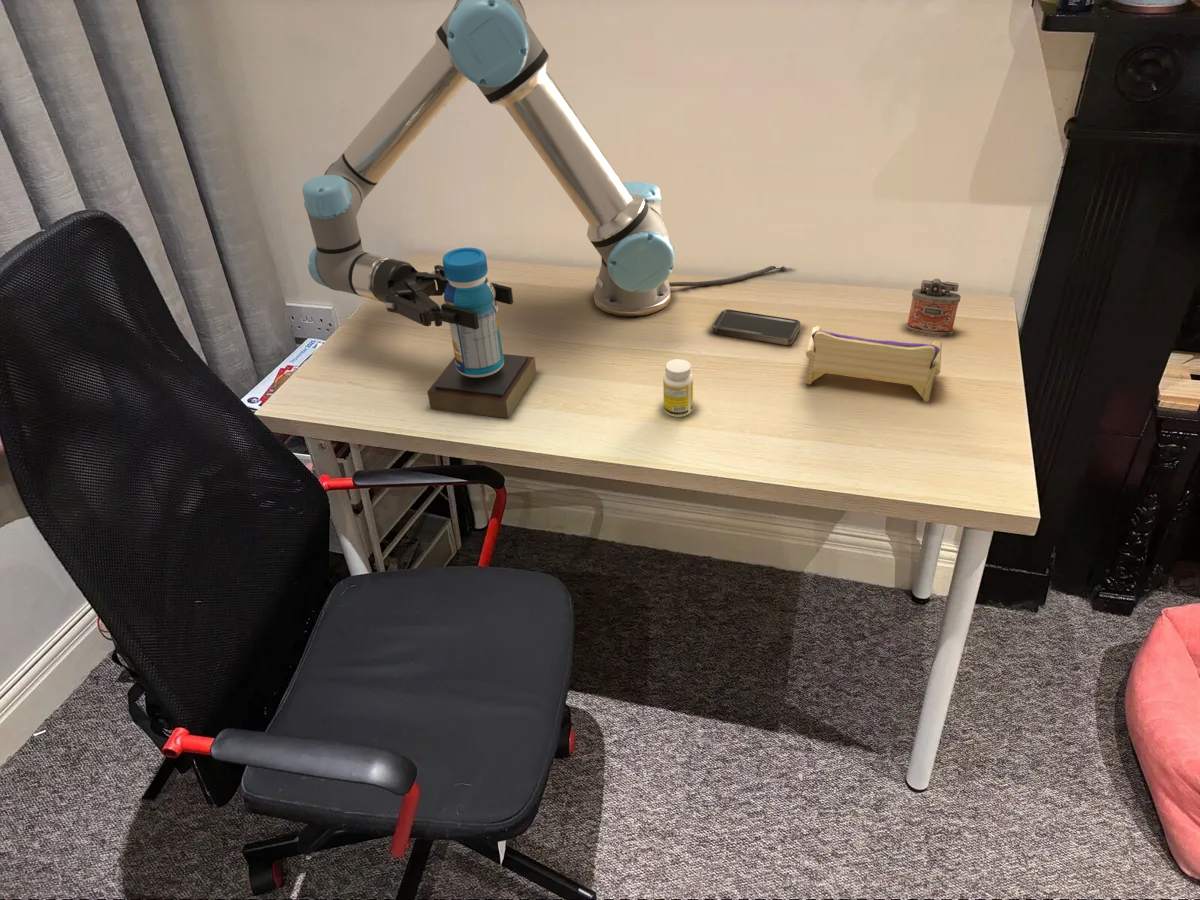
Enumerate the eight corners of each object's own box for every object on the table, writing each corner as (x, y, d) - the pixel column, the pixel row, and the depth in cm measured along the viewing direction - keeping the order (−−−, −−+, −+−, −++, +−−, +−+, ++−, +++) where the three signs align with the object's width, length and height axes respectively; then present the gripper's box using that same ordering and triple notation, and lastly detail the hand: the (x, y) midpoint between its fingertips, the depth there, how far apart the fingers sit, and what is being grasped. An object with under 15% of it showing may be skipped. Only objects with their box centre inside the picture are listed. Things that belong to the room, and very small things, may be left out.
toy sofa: (935, 375, 145) (946, 321, 139) (933, 403, 138) (945, 348, 132) (809, 359, 151) (814, 307, 145) (801, 385, 144) (807, 332, 138)
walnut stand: (536, 374, 152) (534, 354, 149) (508, 418, 141) (505, 398, 139) (463, 365, 155) (460, 346, 153) (430, 408, 144) (426, 389, 142)
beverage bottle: (484, 384, 140) (467, 271, 128) (444, 371, 144) (424, 260, 132) (515, 360, 146) (502, 250, 134) (476, 348, 150) (460, 240, 138)
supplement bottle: (676, 397, 143) (677, 354, 138) (698, 408, 141) (699, 364, 135) (657, 410, 141) (657, 366, 136) (679, 421, 138) (679, 376, 133)
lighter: (904, 332, 157) (914, 282, 151) (906, 323, 159) (916, 274, 153) (951, 338, 154) (963, 288, 148) (953, 330, 156) (964, 279, 150)
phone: (723, 308, 165) (801, 320, 159) (723, 313, 165) (801, 325, 160) (711, 327, 159) (791, 340, 154) (710, 333, 160) (790, 346, 154)
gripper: (430, 275, 155) (534, 301, 145) (347, 327, 141) (455, 360, 131) (423, 236, 150) (530, 260, 141) (336, 285, 136) (448, 316, 126)
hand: (494, 308), depth 136 cm, fingers closed on beverage bottle, 8 cm apart
